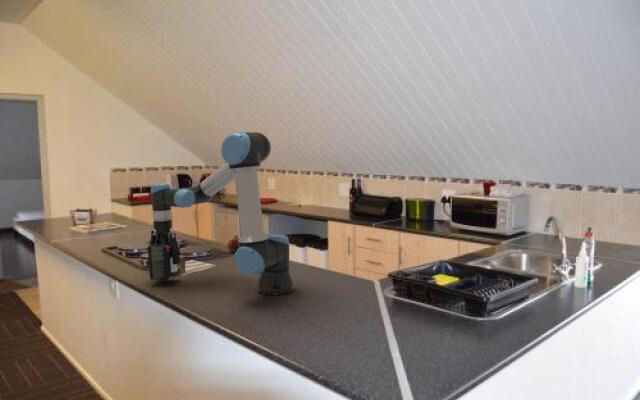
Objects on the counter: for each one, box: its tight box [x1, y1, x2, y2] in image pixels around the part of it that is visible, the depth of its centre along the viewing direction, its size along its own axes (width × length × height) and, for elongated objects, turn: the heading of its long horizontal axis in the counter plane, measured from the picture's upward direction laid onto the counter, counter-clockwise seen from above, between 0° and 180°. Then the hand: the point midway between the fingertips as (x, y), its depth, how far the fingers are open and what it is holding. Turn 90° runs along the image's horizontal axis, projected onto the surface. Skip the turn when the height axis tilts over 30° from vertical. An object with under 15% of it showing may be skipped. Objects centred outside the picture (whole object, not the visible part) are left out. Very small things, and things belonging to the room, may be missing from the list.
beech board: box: [179, 255, 217, 277], centre depth 235 cm, size 18×20×8 cm
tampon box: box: [147, 241, 181, 281], centre depth 211 cm, size 11×9×15 cm
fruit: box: [227, 234, 241, 253], centre depth 266 cm, size 9×10×10 cm
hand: (165, 269), depth 212 cm, fingers closed on tampon box, 11 cm apart
